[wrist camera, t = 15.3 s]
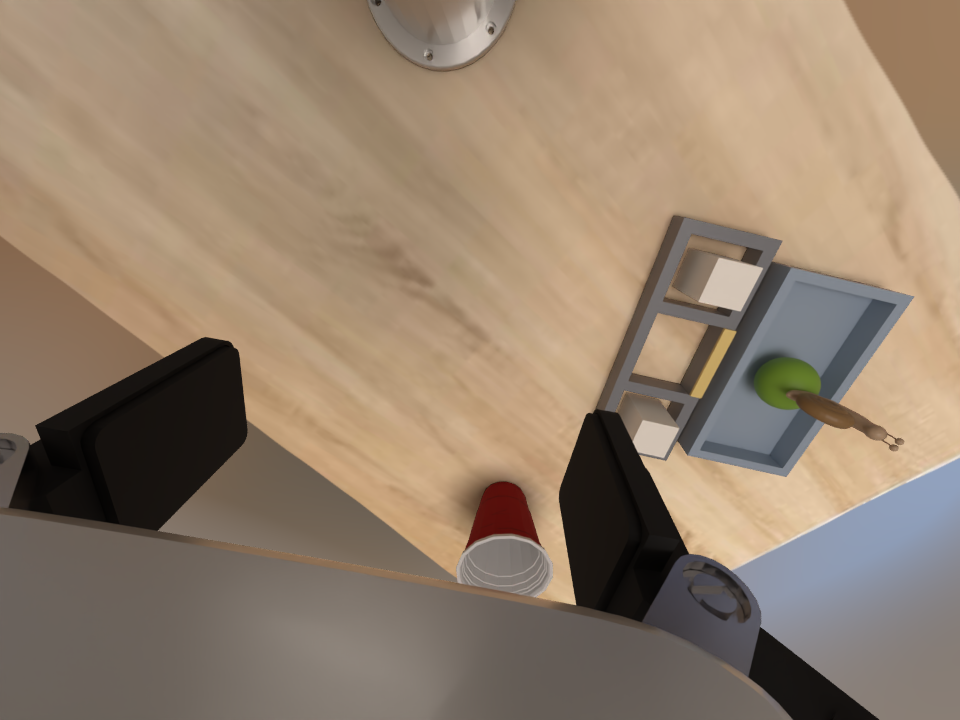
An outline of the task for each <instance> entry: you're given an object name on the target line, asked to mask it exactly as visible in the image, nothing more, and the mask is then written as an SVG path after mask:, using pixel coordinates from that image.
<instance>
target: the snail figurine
mask: <svg viewBox="0 0 960 720" xmlns="http://www.w3.org/2000/svg"><path fill="white" fill-rule="evenodd" d="M754 388H755V391H756V393H757V395H758V396H759V397H760V399H761V400H762V401H764V402H765V403H766V404H768V405H770V406H772V407H775V408H778V409H783V410H794V409H799V408H800V409H801V410H803V411H804V412H805V413H807V414H808V415H810V416H812V417H813V418H815V419H817V420H819V421H821V422H823V423H825V424H828V425H830V426H833V427H836V428H840V429H847V428H850V427H853V428H855V429H857V430H859V431H861V432H863V433H864V434H865V435H866V436H867V437H869V438H870V439H873V440H881V441H883V442H885V441H884V440H883V439H885V438H886V437H887V435H889V434H888V433H887V432H886V430H885V429H884V428H882V427H881V426H878V425H876V424H873V423H872V422H870V421H869V420H868V419H866V418H865V417H863V416H861V415H860V414H858V413H856V412H854V411H852V410H850V409H848V408H846V407H844V406H842V405H840V404H838V403H837V402H835V401H832V400H830V399H827V398H824V397H821V396H819V395H818V394H819V392H820V389H821V380H820V377H819V375H818V373H817V371H816V370H815V369H814V368H813V367H812V366H811V365H810V364H808V363H807V362H805V361H802V360H800V359H796V358H791V357H781V358H776V359H772V360H770V361H768V362H766V363H765V364H763V365H762V366H761V367H760V368H759V369H758V371H757V372H756V374H755V377H754ZM889 436H891V435H889ZM891 437H892V438H894V437H893V436H891ZM894 439H895V443H896V444H898V445H902V444H904V440H903V439H901V438H897V439H896V438H894ZM885 443H887V442H885ZM887 444H888V443H887ZM888 445H889V449H890V450H892V451H897V450H898V449H899V448H898V446H897V445H890V444H888Z"/></svg>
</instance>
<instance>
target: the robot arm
mask: <svg viewBox="0 0 960 720" xmlns="http://www.w3.org/2000/svg"><path fill="white" fill-rule="evenodd" d="M378 1H381V4H380V5H379V6H377V2H378ZM367 2H368V6H369V9H370V11H371V13H372V15H373V17H374V20H375V22H376V24H377V26H378V27H379V29H380V30H381V32H382V33H383V35H384V36H385V38H386V39H387V40H388V41H389V43H390V44H391V45H392V46H393V47H394V48H395V49H396V50H397V51H398V52H399V53H400V54H401V55H403V56H404V57H405V58H406V59H408V60H409V61H411V62H413V63H415V64H417V65H418V66H421V67H424V68H428V69H431V70H440V71H449V70H455V69H460V68H462V67H465V66H467V65H470V64H472V63H474V62H475V61H477V60H478V59H479V58H481V57H482V56H484V55H485V54H486V53H487V52H488V51H489V50H490V49H491V48H492V47H493V46H494V45H495V44H496V42H497V41H498V39H499V38H500V36H501V35H502V33H503V32H504V30H505V28H506V26H507V24H508V22H509V19H510V17H511V15H512V12H513V9H514V5H515V2H516V0H367ZM489 29H493V30H494V33H493V34H492V35H490V34H489V33H488V31H489ZM429 55H433V59H432V60H431V61H429V60H428V56H429ZM35 426H36V429H37V431H38V434H39V436H40V440H39V441H37V442H35V443H33V444H32V445H30V443H29V441H28V440H27V439H26V438H24V437H23V436H20V435H16V434H12V433H0V720H879V719H878V718H876V717H875V716H874V715H872V714H871V713H870V712H869V711H868V710H866V709H865V708H864V707H862V706H861V705H860V704H859V703H857V702H856V701H855V700H853V699H852V698H851V697H849V696H848V695H847V694H846V693H844V692H843V691H842V690H840V689H839V688H838V687H837V686H835V685H834V684H833V683H832V682H830V681H829V680H828V679H826V678H825V677H824V676H823V675H821V674H820V673H819V672H818V671H816V670H815V669H814V668H812V667H811V666H810V665H808V664H807V663H806V662H805V661H803V660H802V659H801V658H800V657H798V656H797V655H795V654H794V653H793V652H792V651H791V650H789V649H788V648H787V647H785V646H784V645H783V644H782V643H780V642H779V641H778V640H776V639H775V638H774V637H773V636H771V635H770V634H769V633H768V632H766V631H765V630H764V629H762V628H761V627H760V625H761V611H760V608H759V605H758V603H757V600H756V598H755V597H754V595H753V594H752V592H751V591H750V589H749V588H748V587H747V586H746V585H745V584H744V583H743V582H742V581H741V579H739V578H738V576H737V575H735V574H734V573H733V572H732V571H730V570H729V569H728V568H726V567H725V566H723V565H722V564H720V563H718V562H716V561H715V560H713V559H710V558H707V557H704V556H701V555H694V554H689V553H688V551H687V549H686V547H685V545H684V542H683V540H682V538H681V536H680V534H679V532H678V530H677V528H676V526H675V524H674V522H673V520H672V518H671V516H670V514H669V512H668V510H667V508H666V506H665V504H664V502H663V500H662V497H661V495H660V493H659V491H658V489H657V487H656V485H655V483H654V481H653V479H652V477H651V475H650V473H649V472H648V470H647V469H646V468H645V466H644V464H643V462H642V460H641V458H640V456H639V454H638V452H637V450H636V448H635V445H634V443H633V441H632V439H631V437H630V435H629V433H628V431H627V429H626V427H625V425H624V423H623V421H622V419H621V416H620V415H619V413H616V412H611V411H605V410H600V409H596V410H595V411H594V412H593V414H592V413H588V414H587V415H586V417H585V419H584V422H583V425H582V428H581V430H580V433H579V436H578V439H577V442H576V445H575V447H574V450H573V453H572V456H571V459H570V462H569V464H568V467H567V470H566V473H565V476H564V478H563V481H562V484H561V487H560V491H559V503H560V509H561V515H562V521H563V528H564V534H565V540H566V546H567V552H568V558H569V564H570V570H571V576H572V582H573V588H574V594H575V600H576V605H571V604H566V603H561V602H556V601H551V600H546V599H541V598H536V597H531V596H526V595H521V594H516V593H510V592H505V591H500V590H494V589H489V588H483V587H478V586H472V585H466V584H461V583H455V582H450V581H444V580H438V579H433V578H427V577H422V576H416V575H410V574H404V573H399V572H394V571H388V570H382V569H376V568H371V567H365V566H359V565H354V564H348V563H342V562H337V561H331V560H325V559H319V558H314V557H308V556H302V555H296V554H290V553H285V552H279V551H273V550H266V549H261V548H255V547H250V546H244V545H238V544H232V543H226V542H220V541H214V540H208V539H202V538H196V537H190V536H184V535H178V534H172V533H166V532H160V531H158V530H159V528H161V527H162V526H163V525H164V524H165V522H167V521H168V520H169V519H170V518H171V517H172V515H174V514H175V512H176V511H177V510H178V509H179V508H180V507H181V506H182V505H183V504H184V503H185V502H186V501H187V500H188V499H189V498H190V497H191V496H192V495H193V494H194V493H195V492H196V491H197V490H198V489H199V488H200V487H201V486H202V485H203V484H204V483H205V482H206V481H207V480H208V479H209V478H210V477H211V476H212V475H213V474H214V473H215V472H216V471H217V470H218V469H219V468H220V467H221V466H222V465H223V464H224V463H225V462H226V461H227V460H228V459H229V458H230V457H231V456H232V455H233V454H234V453H235V452H236V451H237V450H238V449H239V448H240V447H241V446H242V444H243V443H244V442H245V440H246V437H247V421H246V412H245V403H244V394H243V385H242V375H241V366H240V357H239V352H238V350H237V349H236V348H234V347H233V345H232V343H231V342H229V341H224V340H219V339H213V338H208V337H204V338H201V339H199V340H197V341H195V342H193V343H191V344H190V345H188V346H186V347H184V348H182V349H180V350H178V351H176V352H174V353H172V354H171V355H169V356H167V357H165V358H163V359H161V360H159V361H157V362H155V363H154V364H152V365H150V366H148V367H146V368H144V369H142V370H140V371H138V372H136V373H134V374H133V375H131V376H129V377H127V378H125V379H123V380H121V381H119V382H117V383H116V384H113V385H112V386H110V387H108V388H106V389H104V390H102V391H100V392H98V393H96V394H94V395H93V396H91V397H89V398H87V399H85V400H83V401H81V402H79V403H77V404H75V405H74V406H72V407H70V408H68V409H66V410H64V411H62V412H60V413H58V414H56V415H54V416H53V417H51V418H49V419H47V420H45V421H43V422H41V423H39V424H37V425H35Z"/></svg>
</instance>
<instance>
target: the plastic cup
mask: <svg viewBox="0 0 960 720" xmlns="http://www.w3.org/2000/svg"><path fill="white" fill-rule="evenodd" d="M456 571H457V580H458V583H461V584H466V585H472V586H478V587H483V588H489V589H494V590H500V591H505V592H510V593H516V594H521V595H526V596H531V597H537V596H538V595H540V594H541V593H542V592H544V591H545V590H546V588H547V586H548V585H549V583H550V581H551V580H552V578H553V563H552V561H551V560H550V558H549V556H548V554H547V552H546V551H545V549H544V548H543V547H542V546H541V544H540V542H539V539H538V536H537V533H536V529H535V526H534V523H533V520H532V516H531V513H530V511H529V509H528V505H527V501H526V498H525V496H524V494H523V492H522V490H521V489H520V488H519V487H518V486H516V485H515V484H512V483H509V482H497V483H494V484H491V485H490V486H489V487H488V488H486V490H485V492H484V494H483V496H482V499H481V502H480V506H479V508H478V511H477V513H476V517H475V520H474V523H473V527H472V530H471V534H470V537H469V540H468V543H467V545H466V548H465V550H464V551H463V553H462V555H461V558H460V560H459V562H458V564H457V567H456Z"/></svg>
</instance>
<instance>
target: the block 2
mask: <svg viewBox="0 0 960 720" xmlns="http://www.w3.org/2000/svg"><path fill="white" fill-rule="evenodd" d="M762 270H763V268H761V267H758V266H755V265H752V264H749V263H745V262H742V261H739V260H736V259H733V258H729V257H726V256H722V255H718V254H713V253H709V252H705V251H701V250H696V249H692V248H689V249H688V251H687V253H686V256H685V258H684V260H683V263H682V265H681V267H680V270H679V272H678V274H677V276H676V279H675V281H674V283H673V287H674V288H676V289H678V290H679V291H681V292H683V293H684V294H686V295H688V296H689V297H691V298H693V299H694V300H696V301H698V302H701V303H706V304H710V305H714V306H719V307H723V308H727V309H732V310H736V311H740V312H741V310H742V308H743V306H744V304H745V302H746V300H747V298H748V296H749V295H750V293H751V291H752V289H753V287H754V285H755V283H756V281H757V279H758V277H759V275H760V274H761V272H762Z"/></svg>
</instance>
